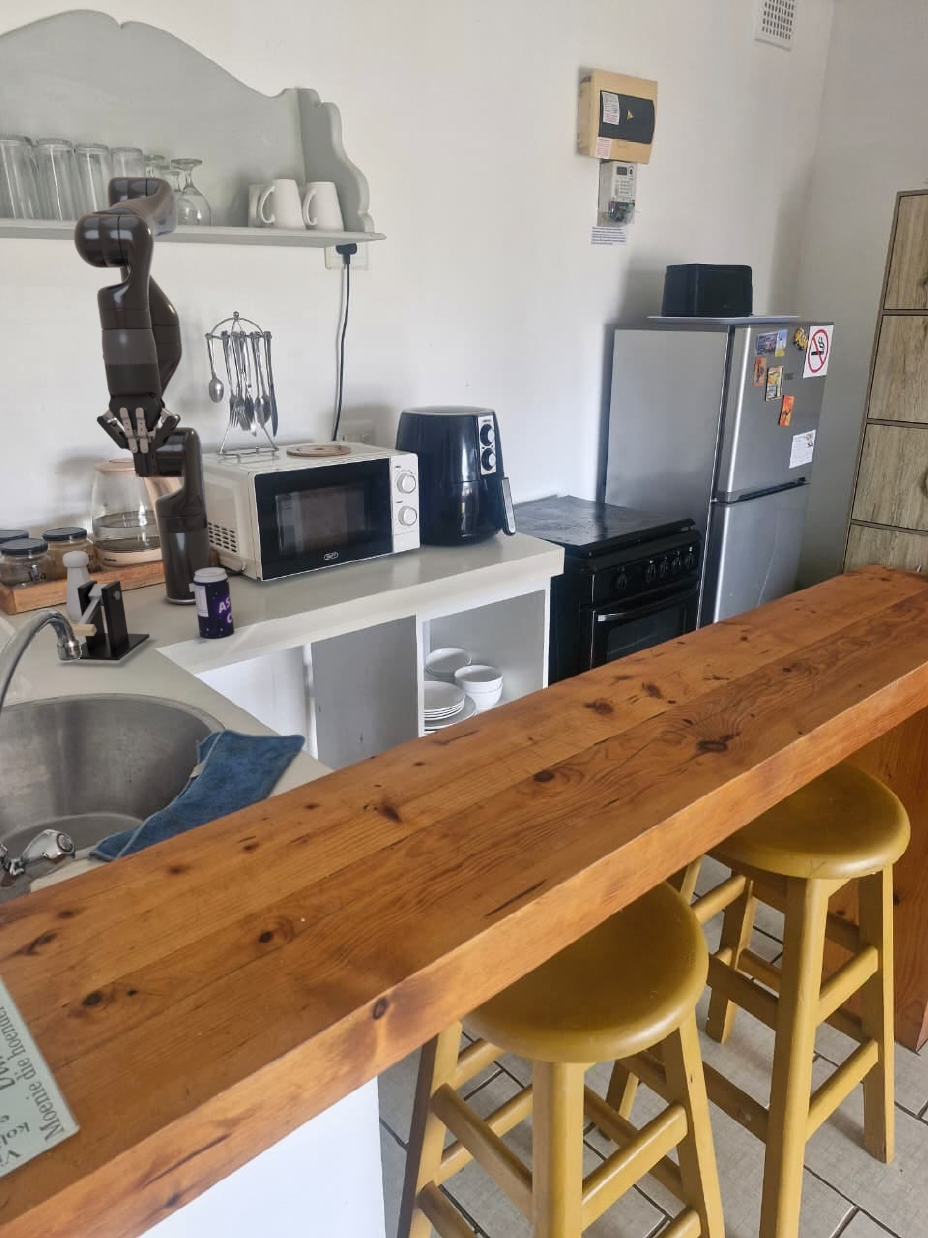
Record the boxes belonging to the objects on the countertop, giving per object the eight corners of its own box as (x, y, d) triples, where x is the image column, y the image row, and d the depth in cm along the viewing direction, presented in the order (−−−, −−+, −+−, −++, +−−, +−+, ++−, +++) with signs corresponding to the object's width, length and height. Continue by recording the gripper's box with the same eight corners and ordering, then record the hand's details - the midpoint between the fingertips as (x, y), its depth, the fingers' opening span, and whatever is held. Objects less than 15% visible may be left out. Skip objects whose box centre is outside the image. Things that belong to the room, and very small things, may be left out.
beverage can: (225, 644, 147) (217, 576, 143) (194, 643, 148) (186, 575, 144) (240, 633, 152) (233, 567, 148) (210, 631, 153) (202, 566, 149)
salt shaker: (81, 628, 156) (69, 558, 151) (61, 623, 159) (49, 554, 154) (109, 619, 160) (98, 550, 156) (89, 614, 163) (79, 547, 159)
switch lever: (94, 638, 135) (89, 627, 133) (67, 637, 136) (61, 626, 134) (119, 594, 142) (114, 584, 141) (93, 594, 143) (88, 583, 141)
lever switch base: (119, 665, 138) (108, 595, 134) (65, 664, 139) (53, 593, 135) (150, 641, 149) (141, 575, 145) (100, 640, 150) (90, 574, 146)
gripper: (183, 359, 133) (196, 472, 138) (101, 360, 134) (118, 472, 140) (162, 361, 125) (176, 480, 131) (76, 362, 127) (94, 480, 133)
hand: (146, 476), depth 135 cm, fingers closed
